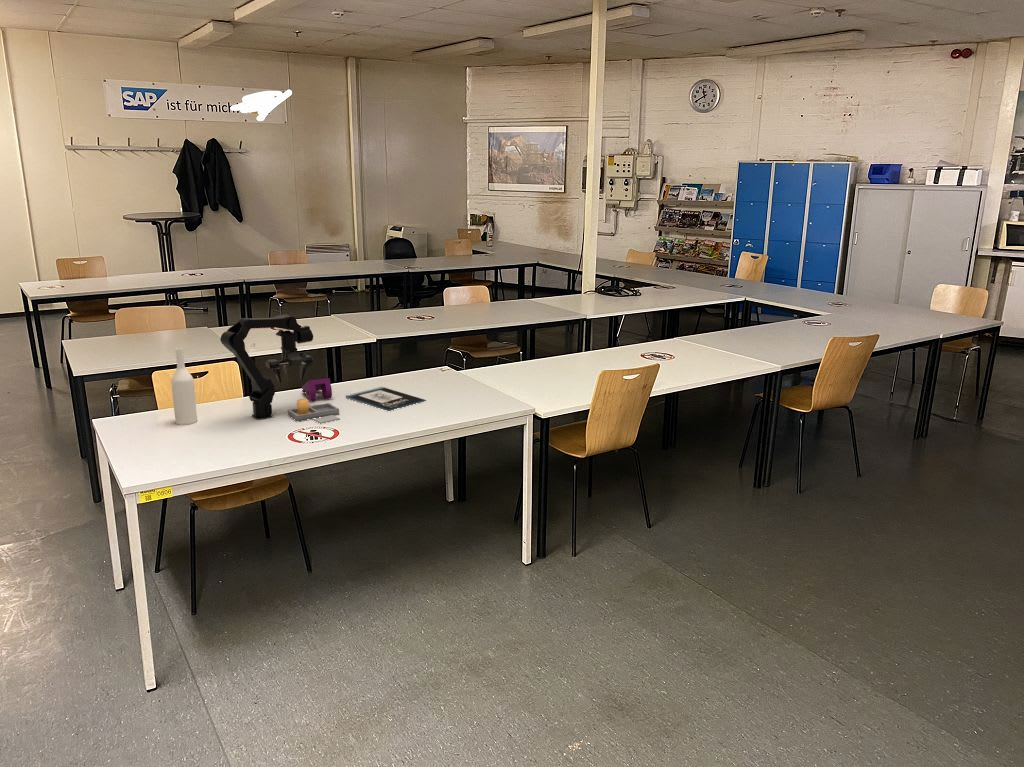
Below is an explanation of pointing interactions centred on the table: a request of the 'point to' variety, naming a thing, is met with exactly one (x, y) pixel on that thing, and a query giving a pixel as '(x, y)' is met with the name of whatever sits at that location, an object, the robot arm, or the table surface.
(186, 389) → the bottle
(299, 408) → the orange drawer knob
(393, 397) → the sketchbook
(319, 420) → the lid
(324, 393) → the mounting bracket
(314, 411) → the housing
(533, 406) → the table surface
